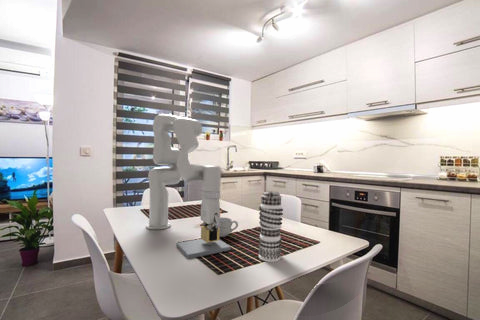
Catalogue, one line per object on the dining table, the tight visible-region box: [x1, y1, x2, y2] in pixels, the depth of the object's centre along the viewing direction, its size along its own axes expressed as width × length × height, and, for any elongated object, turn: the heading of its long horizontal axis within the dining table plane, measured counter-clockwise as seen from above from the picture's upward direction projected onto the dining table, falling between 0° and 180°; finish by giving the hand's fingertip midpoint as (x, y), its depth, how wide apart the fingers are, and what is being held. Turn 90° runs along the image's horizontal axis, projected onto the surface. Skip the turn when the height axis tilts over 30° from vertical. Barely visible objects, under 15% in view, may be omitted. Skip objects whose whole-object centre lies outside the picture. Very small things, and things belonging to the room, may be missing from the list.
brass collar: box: [200, 225, 220, 243], centre depth 102 cm, size 6×6×5 cm
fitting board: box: [176, 225, 231, 259], centre depth 100 cm, size 14×18×9 cm
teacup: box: [212, 216, 239, 238], centre depth 117 cm, size 14×11×8 cm
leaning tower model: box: [258, 190, 284, 263], centre depth 93 cm, size 9×9×25 cm
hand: (210, 237), depth 102 cm, fingers closed on brass collar, 5 cm apart
